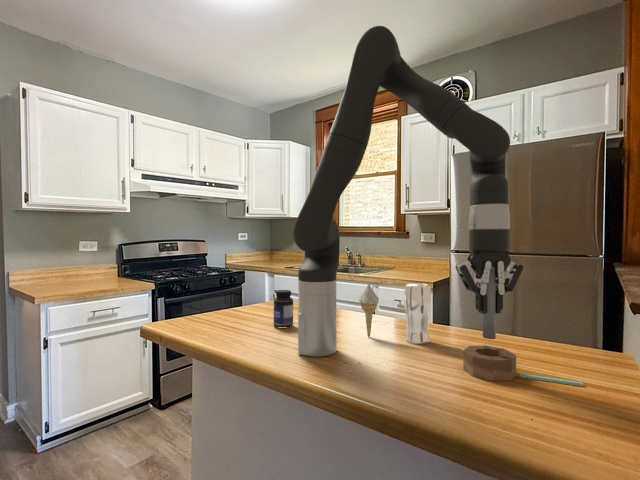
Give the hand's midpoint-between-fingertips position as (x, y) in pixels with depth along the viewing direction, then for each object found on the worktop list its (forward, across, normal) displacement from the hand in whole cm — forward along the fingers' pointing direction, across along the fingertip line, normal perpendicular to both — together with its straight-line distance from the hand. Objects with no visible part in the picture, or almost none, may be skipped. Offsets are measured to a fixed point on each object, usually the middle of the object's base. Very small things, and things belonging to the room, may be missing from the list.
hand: (489, 312), depth 71 cm
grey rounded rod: (+5, 0, 0) cm, 5 cm away
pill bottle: (+12, -43, +41) cm, 61 cm away
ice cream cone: (+12, -19, +27) cm, 35 cm away
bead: (+12, 0, 0) cm, 12 cm away
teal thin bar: (+12, +9, -5) cm, 16 cm away
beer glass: (+12, -7, +22) cm, 26 cm away
